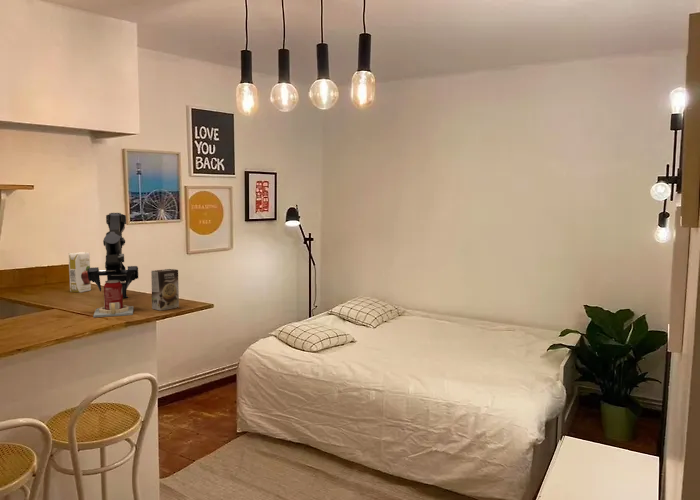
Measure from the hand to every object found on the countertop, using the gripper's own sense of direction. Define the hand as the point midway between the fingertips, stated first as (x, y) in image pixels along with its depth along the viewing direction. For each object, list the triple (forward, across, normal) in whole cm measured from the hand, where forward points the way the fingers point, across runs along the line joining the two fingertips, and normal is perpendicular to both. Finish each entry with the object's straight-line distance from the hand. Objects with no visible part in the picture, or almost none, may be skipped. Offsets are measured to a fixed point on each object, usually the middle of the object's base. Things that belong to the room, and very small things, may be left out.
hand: (113, 290), depth 209 cm
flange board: (+6, 0, +8) cm, 9 cm away
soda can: (+5, 0, +7) cm, 9 cm away
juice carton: (-35, -18, +49) cm, 63 cm away
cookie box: (+4, +20, +9) cm, 22 cm away
